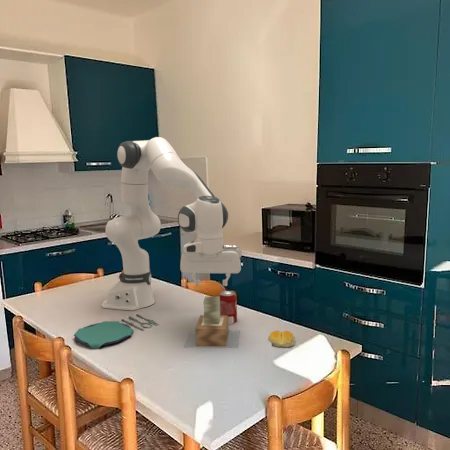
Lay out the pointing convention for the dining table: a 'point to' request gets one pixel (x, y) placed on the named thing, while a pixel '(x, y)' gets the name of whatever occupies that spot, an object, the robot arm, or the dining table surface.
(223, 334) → the wooden cube box
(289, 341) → the bread roll
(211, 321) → the sage block
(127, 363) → the dining table surface
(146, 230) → the robot arm
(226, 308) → the soda can
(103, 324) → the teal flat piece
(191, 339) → the grey flat slab
